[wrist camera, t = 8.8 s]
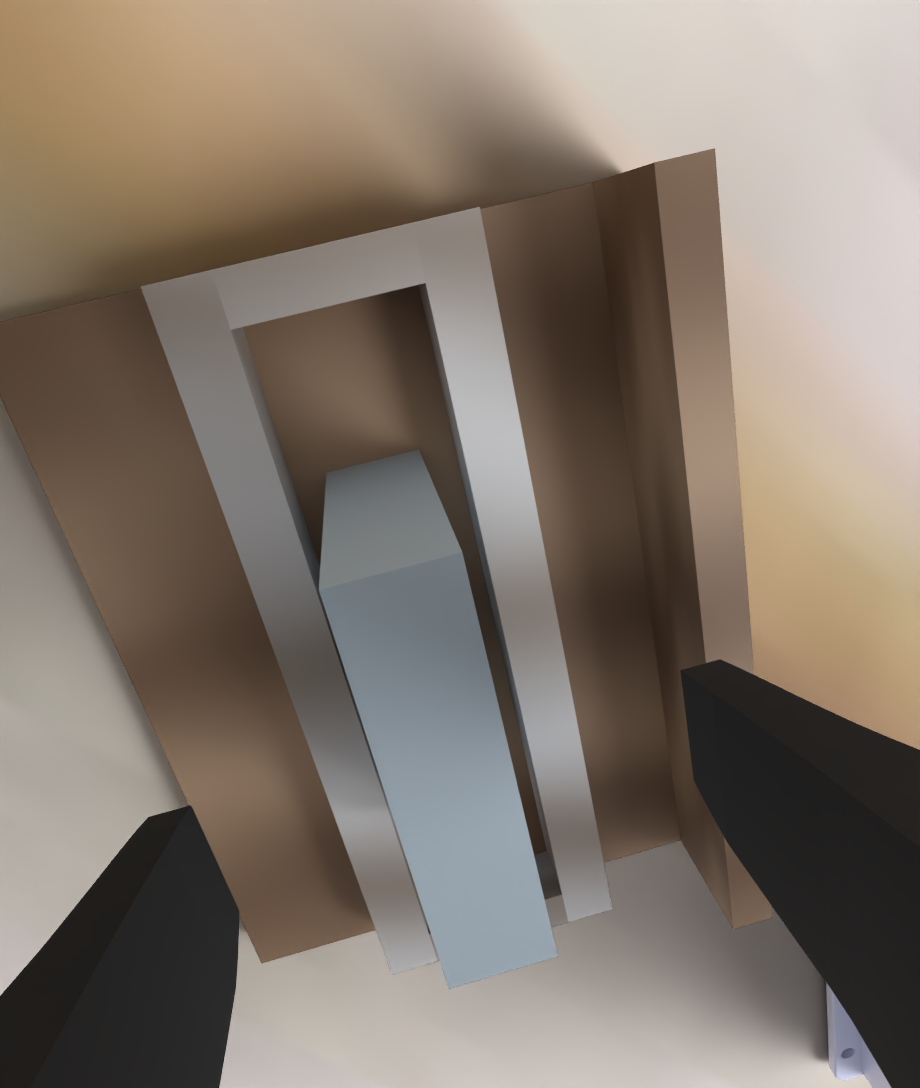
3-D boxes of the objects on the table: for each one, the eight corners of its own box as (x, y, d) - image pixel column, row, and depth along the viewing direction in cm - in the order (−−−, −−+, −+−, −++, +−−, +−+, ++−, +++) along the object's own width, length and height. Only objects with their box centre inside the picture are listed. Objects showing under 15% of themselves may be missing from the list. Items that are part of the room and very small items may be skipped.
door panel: (492, 749, 19) (558, 956, 13) (416, 771, 18) (449, 988, 13) (418, 449, 16) (462, 552, 10) (326, 472, 15) (318, 589, 10)
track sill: (701, 810, 21) (772, 917, 18) (264, 938, 21) (248, 1076, 17) (627, 175, 15) (714, 147, 11) (-12, 326, 14) (-127, 345, 11)
